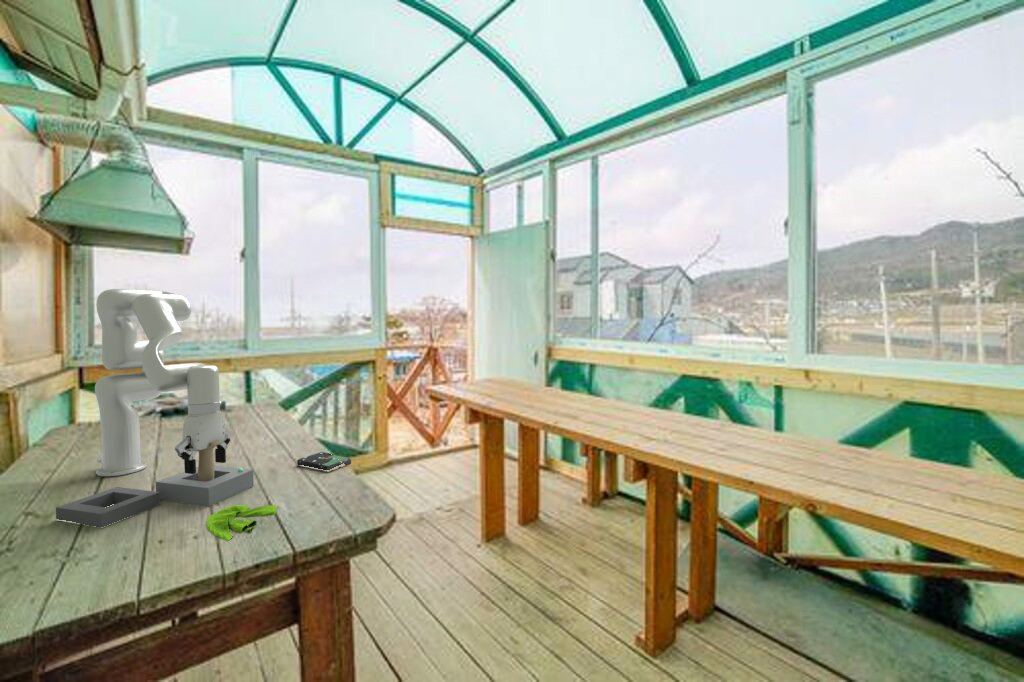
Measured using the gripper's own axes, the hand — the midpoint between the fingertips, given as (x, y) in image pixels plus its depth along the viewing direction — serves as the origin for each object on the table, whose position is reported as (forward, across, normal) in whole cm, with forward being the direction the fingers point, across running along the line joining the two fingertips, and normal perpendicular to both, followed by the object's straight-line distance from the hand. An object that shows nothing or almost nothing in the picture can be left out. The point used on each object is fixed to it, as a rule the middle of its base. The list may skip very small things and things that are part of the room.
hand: (206, 467), depth 131 cm
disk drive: (+8, -30, +17) cm, 35 cm away
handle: (+7, 0, 0) cm, 8 cm away
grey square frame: (+7, +17, -12) cm, 22 cm away
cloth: (+8, +12, +25) cm, 29 cm away
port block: (+7, 0, 0) cm, 7 cm away
